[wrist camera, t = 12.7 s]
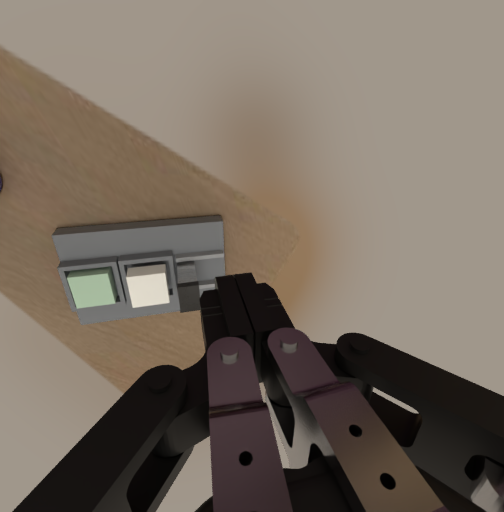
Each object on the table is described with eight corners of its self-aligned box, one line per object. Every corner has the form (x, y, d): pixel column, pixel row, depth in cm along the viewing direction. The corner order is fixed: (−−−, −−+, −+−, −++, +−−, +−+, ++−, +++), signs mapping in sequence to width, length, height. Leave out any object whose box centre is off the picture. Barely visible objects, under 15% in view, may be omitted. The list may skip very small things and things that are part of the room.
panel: (84, 314, 39) (78, 332, 37) (57, 228, 34) (47, 241, 31) (224, 295, 43) (228, 310, 40) (220, 215, 38) (224, 225, 35)
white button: (134, 297, 36) (132, 307, 34) (128, 267, 34) (125, 277, 32) (169, 293, 37) (169, 302, 35) (165, 264, 35) (165, 272, 33)
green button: (81, 298, 36) (76, 308, 34) (71, 268, 34) (66, 278, 32) (117, 293, 37) (115, 303, 35) (110, 264, 35) (107, 273, 33)
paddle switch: (178, 283, 38) (180, 312, 33) (175, 260, 36) (177, 287, 31) (196, 281, 38) (201, 309, 33) (194, 259, 37) (199, 285, 32)
